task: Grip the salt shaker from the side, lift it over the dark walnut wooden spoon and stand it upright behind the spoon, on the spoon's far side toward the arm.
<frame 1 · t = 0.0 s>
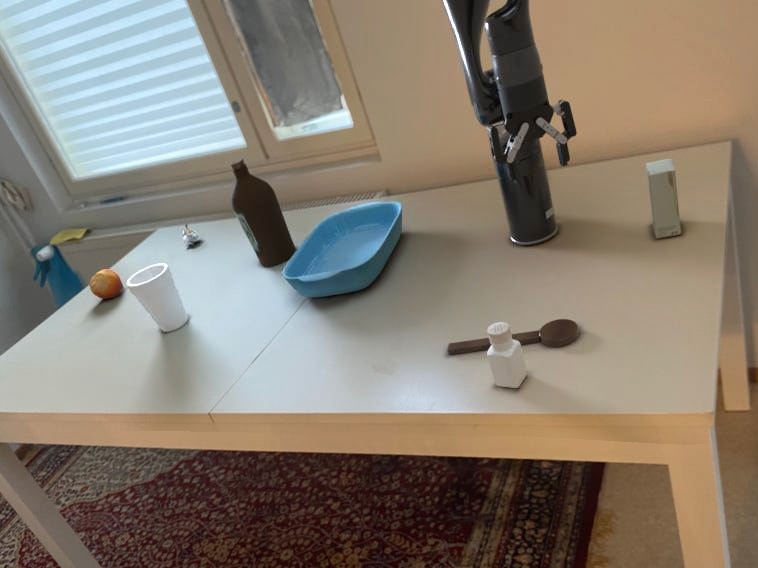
hand: (540, 173, 121), 17 cm above the table, tool pointing down, fingers open, 8 cm apart
foam cup: (175, 324, 159), on the table
casserole dish: (354, 265, 156), on the table
salt shaker: (512, 381, 105), on the table
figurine: (193, 243, 202), on the table
fruit: (112, 295, 187), on the table
cosmetic box: (666, 230, 127), on the table
wooden spoon: (515, 342, 112), on the table
olive oil: (278, 257, 174), on the table
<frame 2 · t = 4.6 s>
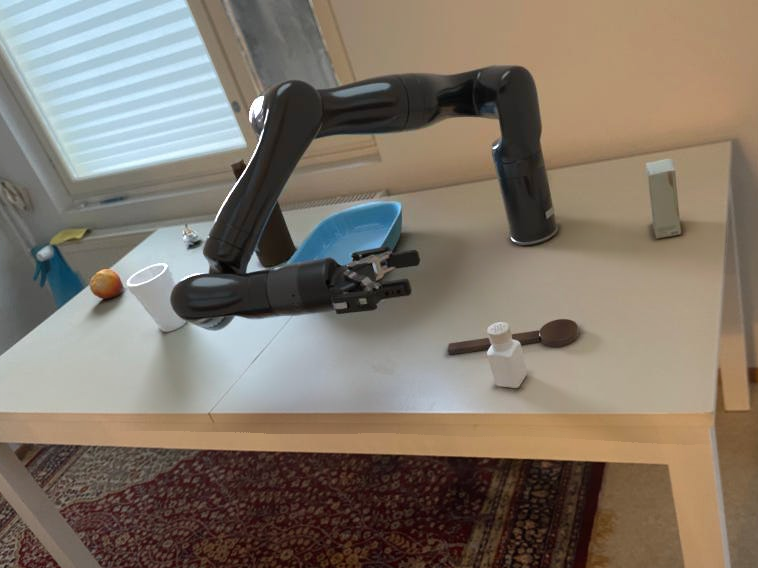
hand: (414, 271, 96), 21 cm above the table, tool horizontal, fingers open, 8 cm apart
nothing on the table moved.
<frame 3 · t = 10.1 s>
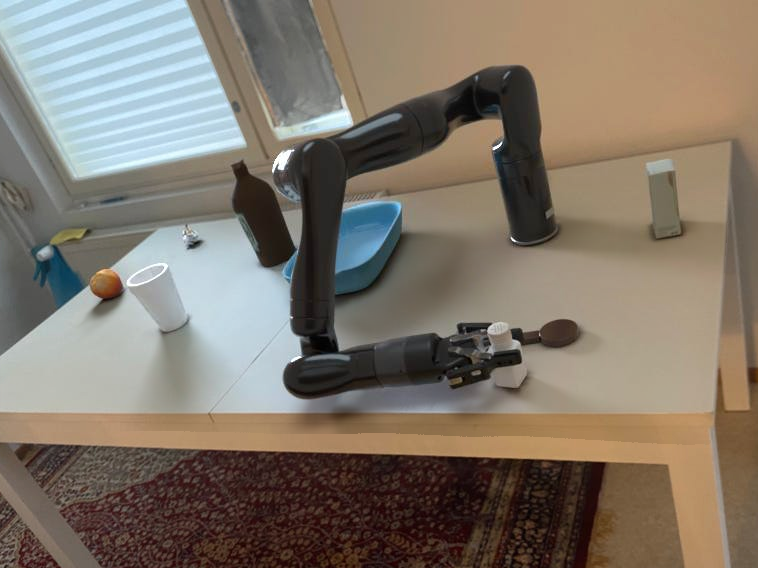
hand: (521, 345, 100), 6 cm above the table, tool horizontal, fingers closed on salt shaker, 4 cm apart
salt shaker: (512, 381, 105), on the table, touching gripper
everything else where it was.
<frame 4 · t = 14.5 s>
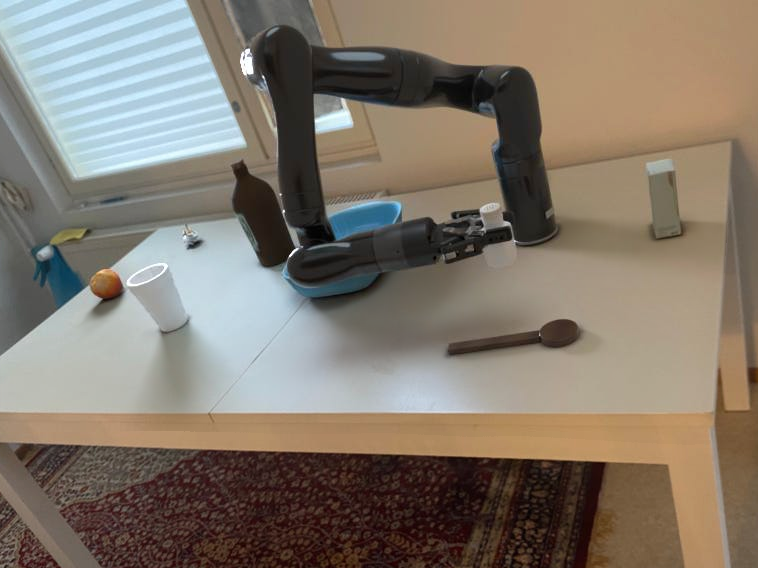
hand: (512, 224, 107), 18 cm above the table, tool horizontal, fingers closed on salt shaker, 4 cm apart
salt shaker: (503, 263, 111), point 11 cm above the table, touching gripper
everything else where it was.
when the fingers open (6 cm above the table, at t = 18.7 s): salt shaker stays where it is, on the table.
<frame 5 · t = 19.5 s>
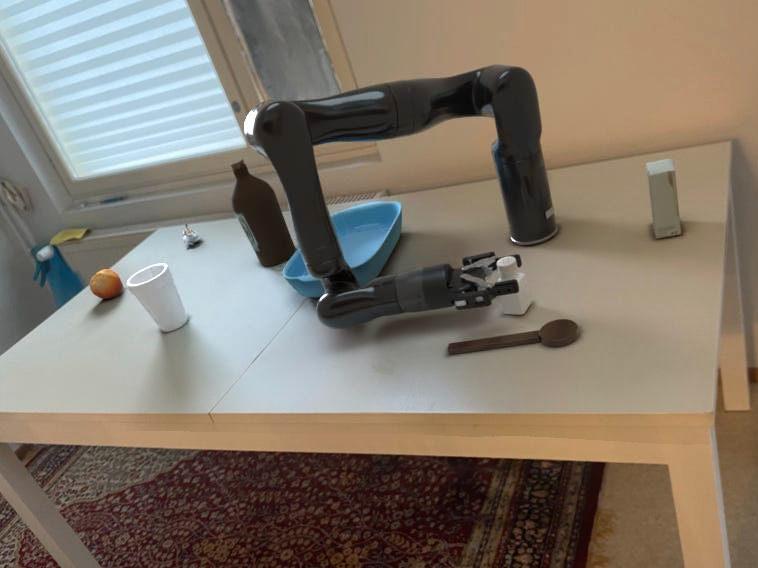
hand: (519, 272, 116), 7 cm above the table, tool horizontal, fingers open, 8 cm apart
salt shaker: (518, 310, 120), on the table
everything else where it was.
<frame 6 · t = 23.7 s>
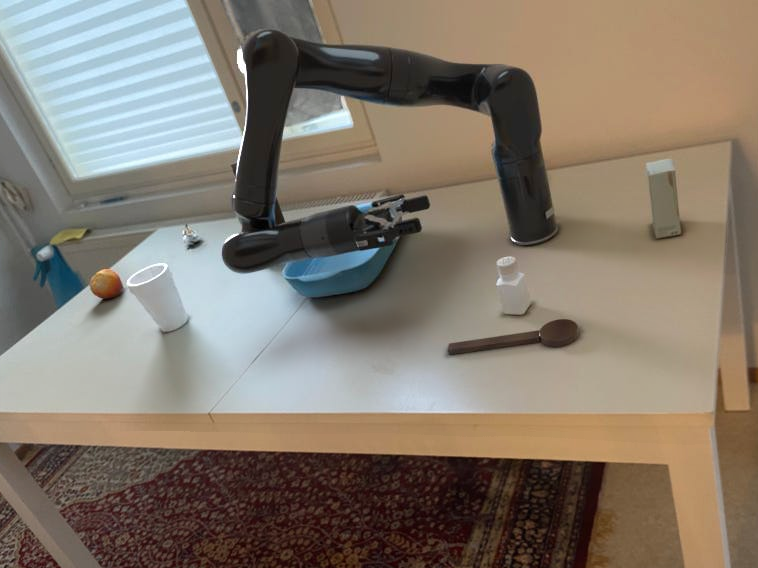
hand: (424, 212, 113), 21 cm above the table, tool horizontal, fingers open, 8 cm apart
nothing on the table moved.
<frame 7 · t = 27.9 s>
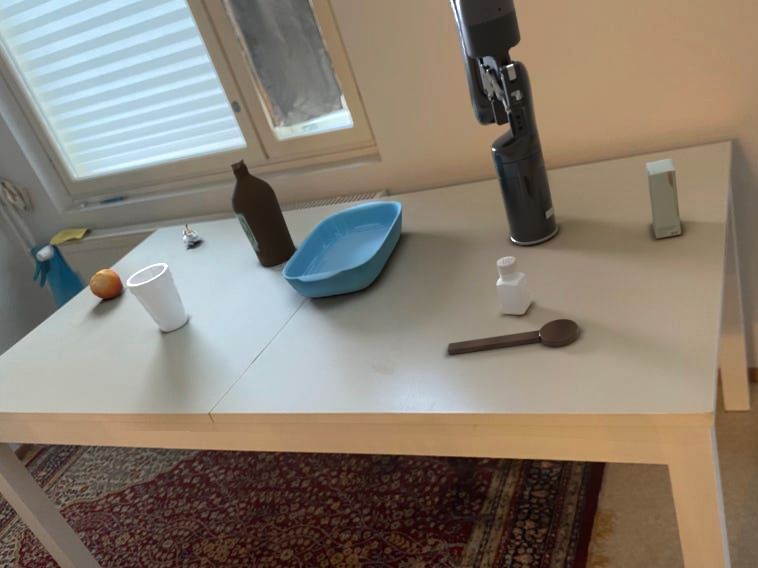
hand: (511, 129, 103), 30 cm above the table, tool pointing down, fingers open, 8 cm apart
nothing on the table moved.
at the end: salt shaker inside the target area on the table beside the wooden spoon (0.2 cm from its centre), on the table; salt shaker tilted 0°; the gripper is holding nothing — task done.
